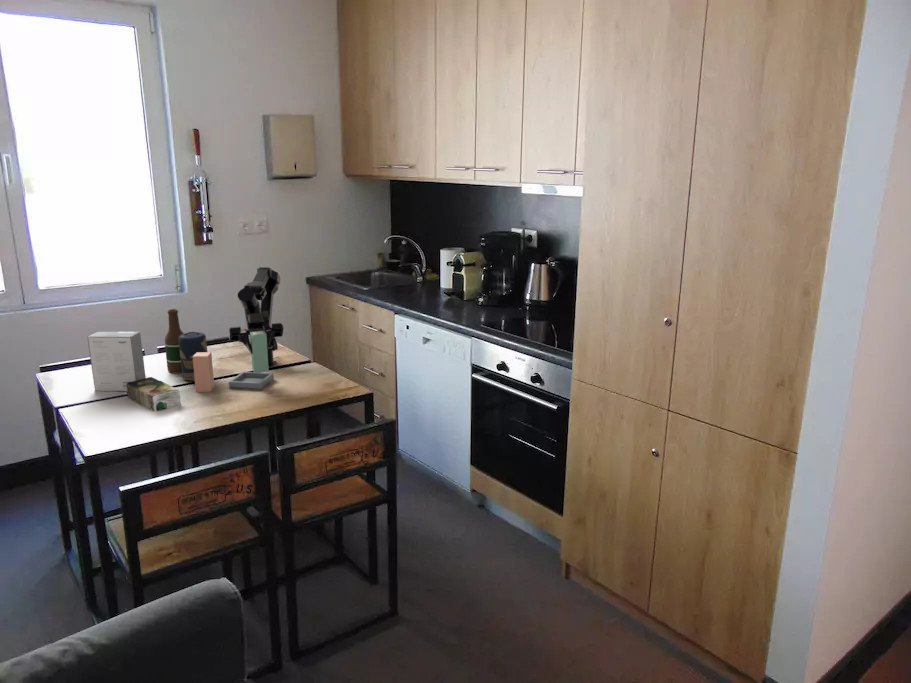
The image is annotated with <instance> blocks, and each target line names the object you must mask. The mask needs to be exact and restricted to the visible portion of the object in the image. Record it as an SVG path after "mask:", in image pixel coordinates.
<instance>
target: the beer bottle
mask: <svg viewBox="0 0 911 683" xmlns="http://www.w3.org/2000/svg"><path fill="white" fill-rule="evenodd" d="M178 313H179V310H178V309H174V308H173V309H169V310H167V315H168V332H167V333H166V335H165V338H164V350H165V357H166V358H165V359H166V367H167V372H168V373H171V374H182V367H181V357H180V348H179V336H180V335H182V334H185V333H184V332H183V331H182V330H181V327H180V326H181V325H180V321H179V315H178Z"/></svg>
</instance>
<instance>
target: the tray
mask: <svg viewBox="0 0 911 683" xmlns="http://www.w3.org/2000/svg"><path fill="white" fill-rule="evenodd" d="M274 377H275V376H274V373H272V372H261V373H254V371H253V372H252V371H241V372H240V373H239V374H237V375H236V376H234V377H233V378H232V379H230V380H229V381H228V389H233V390H248V391H263V389H265V388H266V387H267V386H269V384H270V383H272V382H273V381H274V379H275V378H274Z"/></svg>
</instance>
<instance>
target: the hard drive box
mask: <svg viewBox="0 0 911 683" xmlns="http://www.w3.org/2000/svg"><path fill="white" fill-rule="evenodd" d="M141 338H142V337H141V331H97V332H95V333H92V334H90V335H88V336H87V344H88V345H87V346H88V351H89V353H88V354H89V357H90V358H89V359H90V365H91V371H92V379H93V387H94V391H102V392H103V391H104V392H108V391H109V392H114V391H115V392H127V383H128V382H133V381H137V380H141V379H144V378H147V376H146V369H145V363H144V362H145V361H144V353H143V346H142V339H141Z"/></svg>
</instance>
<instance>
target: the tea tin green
mask: <svg viewBox="0 0 911 683" xmlns="http://www.w3.org/2000/svg"><path fill="white" fill-rule="evenodd" d="M249 340H250V343H251V347H252V352H253V353H252V354H251V353H250V355H251V367H252V368H251V369H252V371H253V372H254V373H270V372H269V369H270V368H269V366H268V353H267V336H266V333H265V331H253V332H250V335H249Z"/></svg>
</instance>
